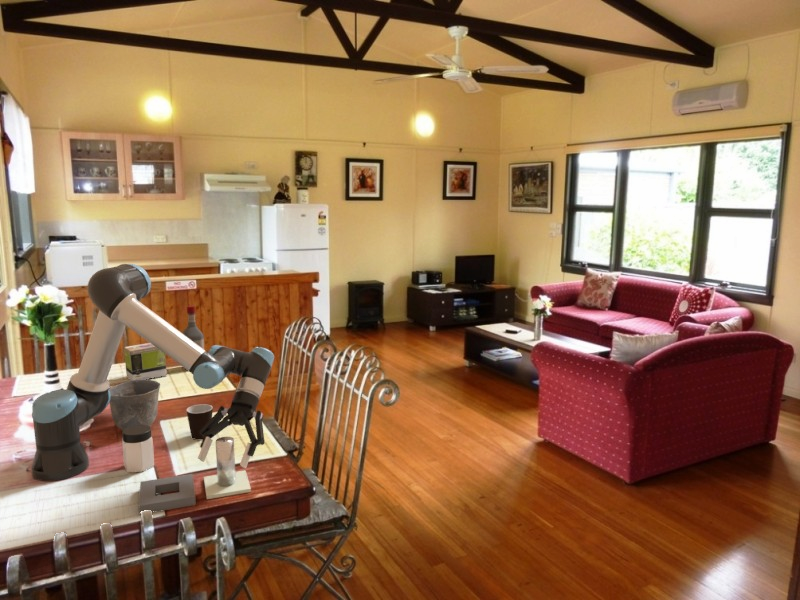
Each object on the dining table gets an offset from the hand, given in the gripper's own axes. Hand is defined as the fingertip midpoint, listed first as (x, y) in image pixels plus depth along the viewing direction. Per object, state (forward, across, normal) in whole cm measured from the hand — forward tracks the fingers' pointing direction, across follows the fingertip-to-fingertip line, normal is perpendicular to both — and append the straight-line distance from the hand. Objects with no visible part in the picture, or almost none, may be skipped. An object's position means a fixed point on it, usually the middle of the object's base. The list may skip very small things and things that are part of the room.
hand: (221, 463), depth 168 cm
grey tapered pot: (-16, +55, -27) cm, 63 cm away
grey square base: (+12, +12, 0) cm, 17 cm away
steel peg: (+3, 0, -6) cm, 7 cm away
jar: (+2, +32, -9) cm, 34 cm away
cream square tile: (+4, 0, -7) cm, 8 cm away
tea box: (-51, +92, -63) cm, 122 cm away
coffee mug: (-17, +28, -28) cm, 44 cm away
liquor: (-64, +80, -76) cm, 128 cm away
